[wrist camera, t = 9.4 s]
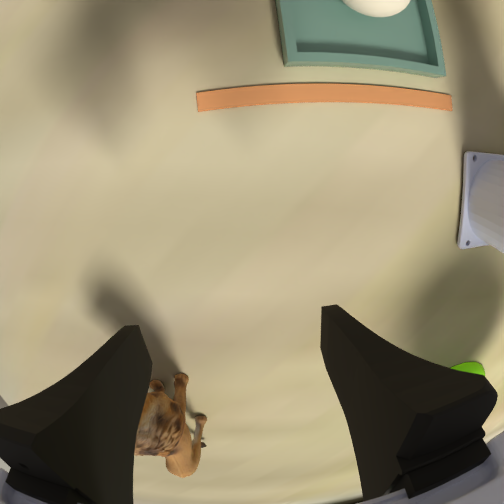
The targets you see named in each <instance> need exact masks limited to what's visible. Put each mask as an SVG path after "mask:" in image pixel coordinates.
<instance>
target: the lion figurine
mask: <svg viewBox="0 0 504 504" xmlns="http://www.w3.org/2000/svg"><path fill="white" fill-rule="evenodd" d="M188 380H189V379H188V376H186V375H185V374H176V375H175V381H174V386H175V395H174V398H173V400H172V399H170V398H168V396H167V395H166V394H164V392H165V388H164V386H163V384H162V383H161V382H160V381H159V380H153V381H151V382H150V387H151V388H152V389H154V390H155V392H152V393H147V396H146V400H145V403H144V407H143V411H142V414H141V418H140V422H139V426H138V430H137V435H136V443H135V452H134V455H136V456H137V455H140V456H143V455H153V456H160V455H161V456H162V457H165V458H166V467H167V469H168V471H169V472H170V473H172V474H174V475H177V476H179V477H182V478H184V477H186V476H190V475H192V474H193V473H194V472H195V471H196V469H197V467H198V464H199V461H200V455H201V448H203V447H206V445H205V443H204V442H201V436H202V431H203V427H204V425H205V423H206V421H207V418H206V417H205V416H203V415H202V416H196V417H195V422H196V429H195V432H194V439H193V440H191V435H190V432H189V429H188V426H187V425H186V423H185V410H186V386H187V383H188Z"/></svg>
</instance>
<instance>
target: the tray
mask: <svg viewBox="0 0 504 504" xmlns="http://www.w3.org/2000/svg"><path fill="white" fill-rule="evenodd" d="M275 2H276V9H277V16H278V23H279V30H280V37H281V45H282V53H283V61H284V67H286V66H331V67H352V68H366V69H377V70H387V71H395V72H402V73H409V74H416V75H422V76H428V77H433V78H437V77H444V76H446V71H445V64H444V58H443V52H442V46H441V40H440V35H439V30H438V26H437V21H436V17H435V13H434V9H433V5H432V1H431V0H411V1H410V2H409V4H408V5H407V7H406V8H405V9H404V10H402V11H401V12H399V13H397V14H395V15H392V16H388V17H372V16H367V15H364V14H361V13H359V12H357V11H355V10H353V9H351V8H350V7H348V6H347V5H346V4H345V3H344V2H343V1H342V0H275Z"/></svg>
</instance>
